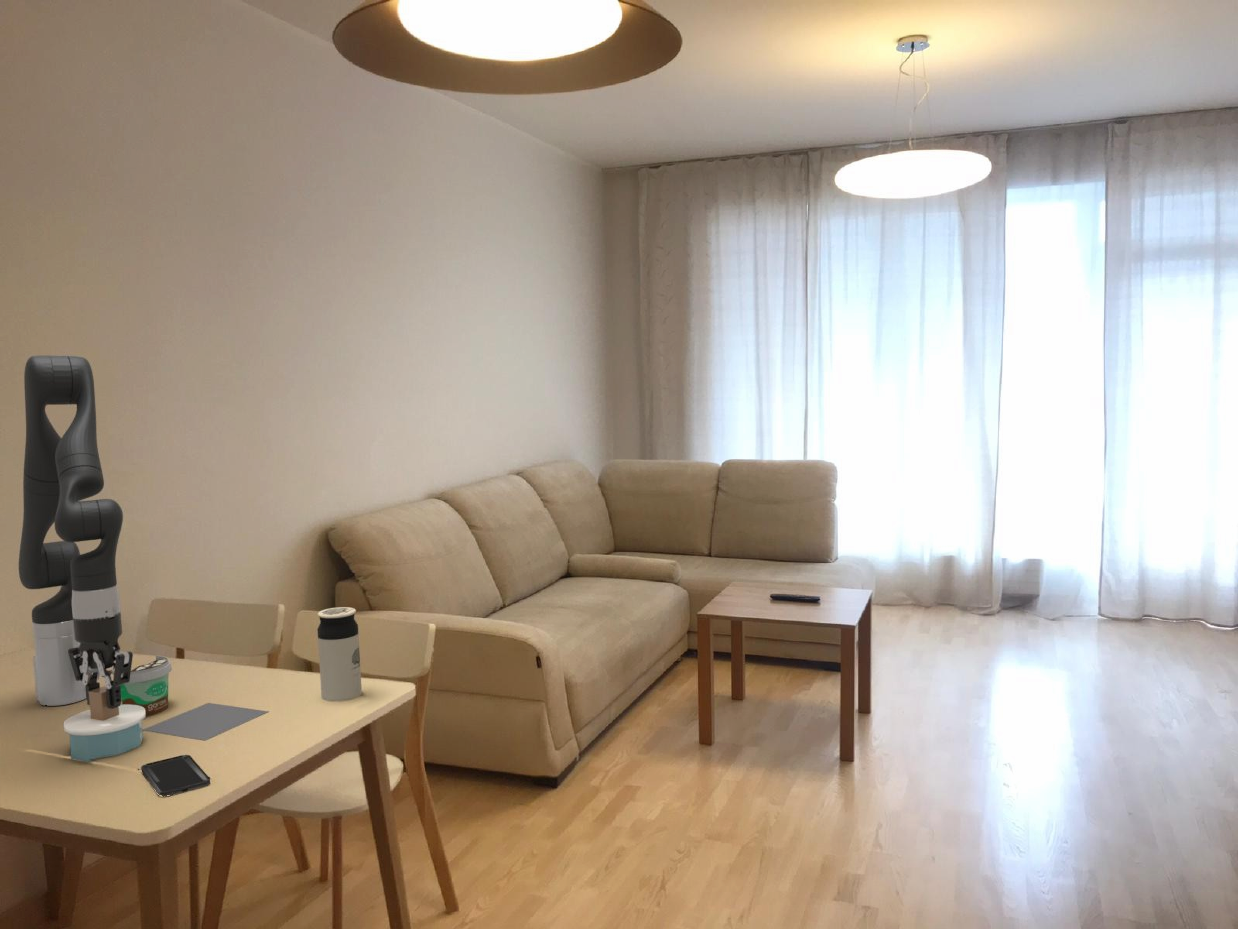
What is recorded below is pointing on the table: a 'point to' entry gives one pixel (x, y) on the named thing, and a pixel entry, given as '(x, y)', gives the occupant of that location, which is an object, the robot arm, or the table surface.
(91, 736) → the bowl
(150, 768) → the phone
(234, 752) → the table surface
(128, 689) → the food container
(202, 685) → the table surface
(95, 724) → the lid
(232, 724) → the mat
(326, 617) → the travel mug
